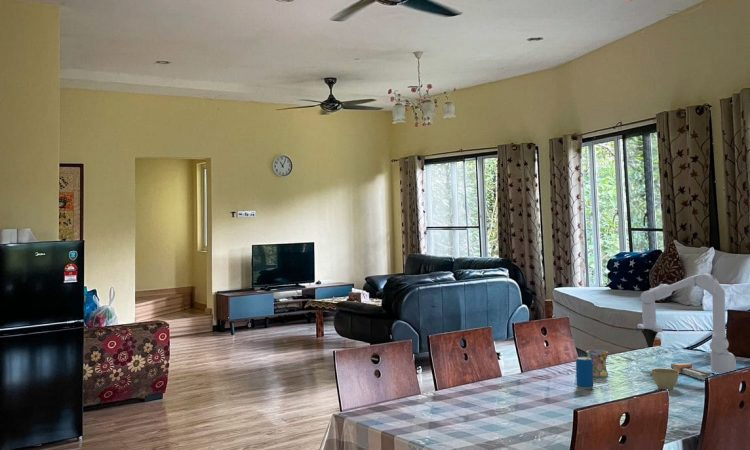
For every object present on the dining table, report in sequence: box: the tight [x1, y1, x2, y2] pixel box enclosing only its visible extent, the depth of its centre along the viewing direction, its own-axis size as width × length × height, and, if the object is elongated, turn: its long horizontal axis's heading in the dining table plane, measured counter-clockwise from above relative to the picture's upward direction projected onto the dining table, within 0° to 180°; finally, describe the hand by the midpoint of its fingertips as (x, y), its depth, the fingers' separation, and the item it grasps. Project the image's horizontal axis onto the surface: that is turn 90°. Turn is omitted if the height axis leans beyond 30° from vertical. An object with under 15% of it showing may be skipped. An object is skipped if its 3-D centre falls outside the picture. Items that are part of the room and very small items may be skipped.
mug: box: [585, 349, 609, 378], centre depth 269 cm, size 12×9×11 cm
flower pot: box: [651, 368, 680, 391], centre depth 243 cm, size 10×10×7 cm
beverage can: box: [575, 356, 594, 390], centre depth 249 cm, size 6×6×12 cm
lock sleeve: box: [674, 362, 693, 374], centre depth 270 cm, size 7×2×4 cm, turn 104°
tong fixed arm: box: [670, 362, 711, 377], centre depth 268 cm, size 4×21×2 cm, turn 14°
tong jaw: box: [680, 367, 706, 380], centre depth 263 cm, size 16×3×2 cm, turn 10°
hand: (650, 345), depth 284 cm, fingers closed
